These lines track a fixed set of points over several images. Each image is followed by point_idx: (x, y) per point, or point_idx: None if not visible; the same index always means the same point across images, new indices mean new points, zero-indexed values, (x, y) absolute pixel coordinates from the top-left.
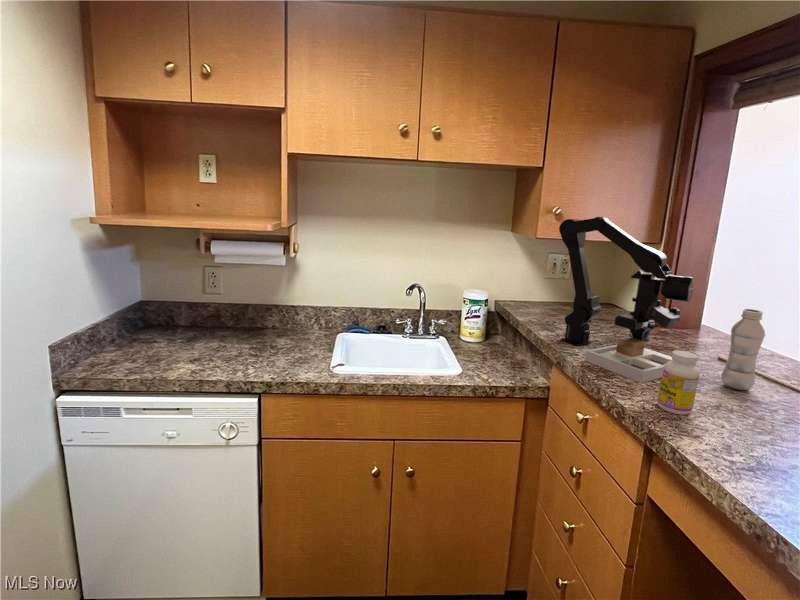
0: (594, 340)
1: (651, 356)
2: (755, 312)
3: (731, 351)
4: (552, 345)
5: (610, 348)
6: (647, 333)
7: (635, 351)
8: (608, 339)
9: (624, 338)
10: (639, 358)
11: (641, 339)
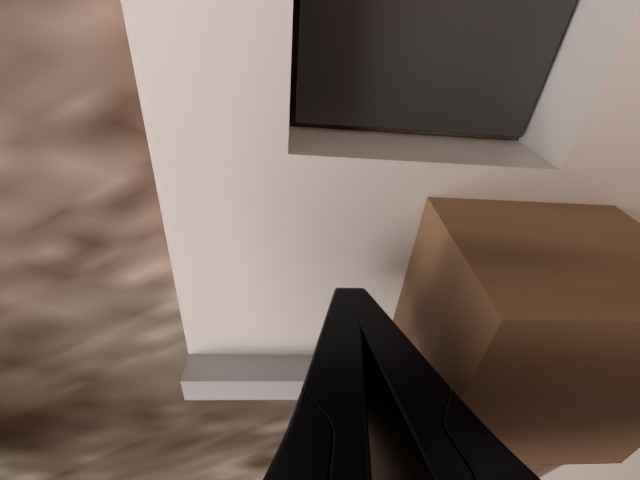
0: (268, 466)
1: (310, 145)
2: None
3: None
4: (542, 473)
5: None
6: (356, 477)
7: (612, 237)
8: (164, 459)
9: (577, 446)
10: (617, 142)
11: (442, 378)
